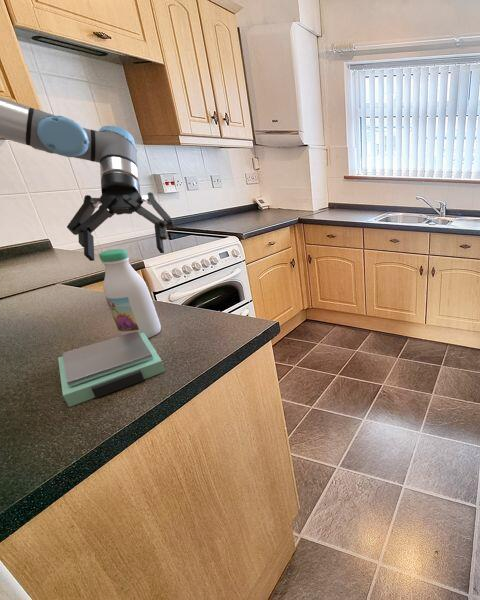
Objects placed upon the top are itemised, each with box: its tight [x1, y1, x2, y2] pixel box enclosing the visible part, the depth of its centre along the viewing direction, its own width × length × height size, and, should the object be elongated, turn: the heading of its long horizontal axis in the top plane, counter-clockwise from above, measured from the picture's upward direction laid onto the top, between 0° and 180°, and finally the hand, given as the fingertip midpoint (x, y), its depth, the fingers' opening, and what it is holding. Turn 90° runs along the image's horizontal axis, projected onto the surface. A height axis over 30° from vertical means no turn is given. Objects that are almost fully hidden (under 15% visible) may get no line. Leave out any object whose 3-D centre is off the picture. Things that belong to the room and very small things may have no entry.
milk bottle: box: [98, 248, 162, 339], centre depth 75 cm, size 8×8×20 cm
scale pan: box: [62, 331, 153, 387], centre depth 65 cm, size 13×12×1 cm
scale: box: [57, 332, 166, 408], centre depth 65 cm, size 17×14×2 cm
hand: (126, 254), depth 78 cm, fingers open, 13 cm apart
